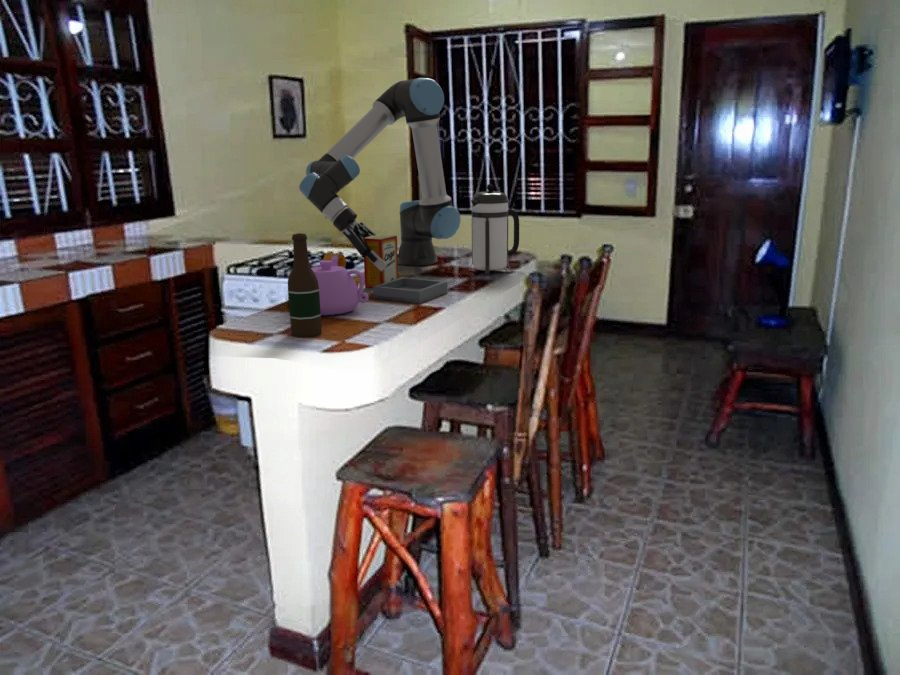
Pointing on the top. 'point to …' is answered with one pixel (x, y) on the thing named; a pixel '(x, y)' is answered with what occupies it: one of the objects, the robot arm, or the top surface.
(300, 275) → the beer bottle
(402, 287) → the tray
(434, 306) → the top surface
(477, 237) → the coffee press
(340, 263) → the bracket
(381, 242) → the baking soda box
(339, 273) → the teapot
